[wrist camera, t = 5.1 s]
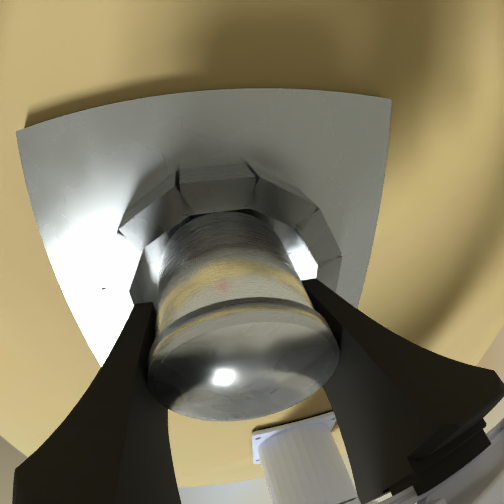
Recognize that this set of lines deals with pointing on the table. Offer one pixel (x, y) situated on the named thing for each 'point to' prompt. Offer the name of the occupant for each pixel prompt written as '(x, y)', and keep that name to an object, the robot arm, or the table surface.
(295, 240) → the flange plate
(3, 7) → the table surface
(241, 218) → the round metal knob
